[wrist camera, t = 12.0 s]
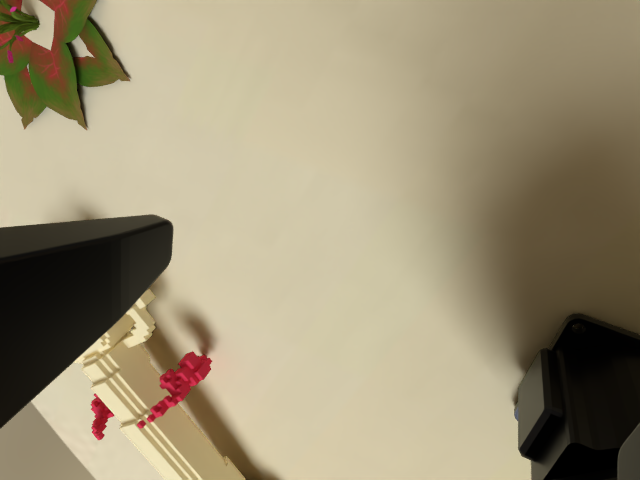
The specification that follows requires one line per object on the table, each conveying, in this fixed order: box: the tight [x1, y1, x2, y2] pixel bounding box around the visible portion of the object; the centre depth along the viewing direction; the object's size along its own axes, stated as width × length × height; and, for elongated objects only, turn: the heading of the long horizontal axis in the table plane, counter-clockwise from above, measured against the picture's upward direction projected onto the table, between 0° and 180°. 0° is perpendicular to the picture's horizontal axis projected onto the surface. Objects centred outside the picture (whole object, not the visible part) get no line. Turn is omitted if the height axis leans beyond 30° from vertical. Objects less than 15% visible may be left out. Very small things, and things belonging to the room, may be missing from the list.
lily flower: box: [0, 0, 130, 130], centre depth 23 cm, size 12×12×5 cm
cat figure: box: [74, 289, 246, 480], centre depth 29 cm, size 10×9×25 cm
